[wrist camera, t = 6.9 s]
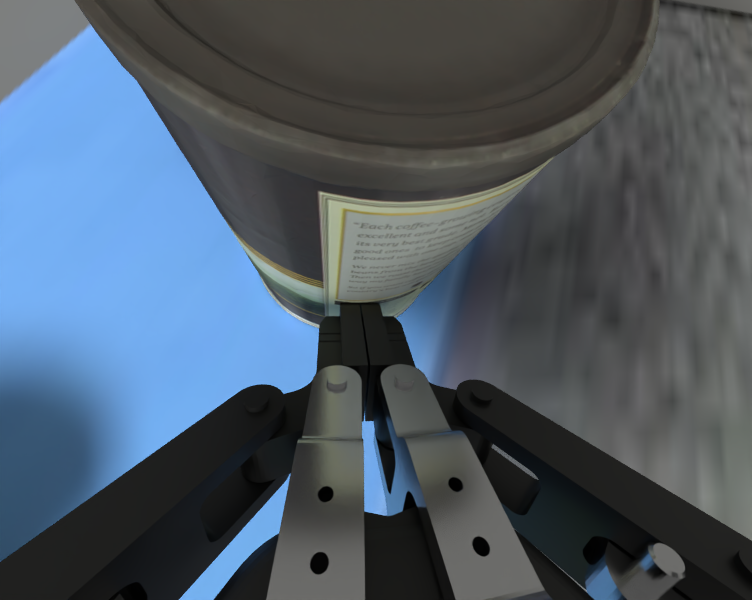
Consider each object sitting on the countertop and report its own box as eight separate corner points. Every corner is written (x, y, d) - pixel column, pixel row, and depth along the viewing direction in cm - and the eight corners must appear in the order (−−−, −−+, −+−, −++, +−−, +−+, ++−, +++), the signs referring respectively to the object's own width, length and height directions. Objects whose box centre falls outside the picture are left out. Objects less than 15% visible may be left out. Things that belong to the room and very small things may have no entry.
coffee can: (229, 312, 17) (-157, 20, 3) (283, 153, 20) (183, -340, 6) (418, 352, 18) (694, 241, 4) (442, 194, 21) (651, -167, 7)
